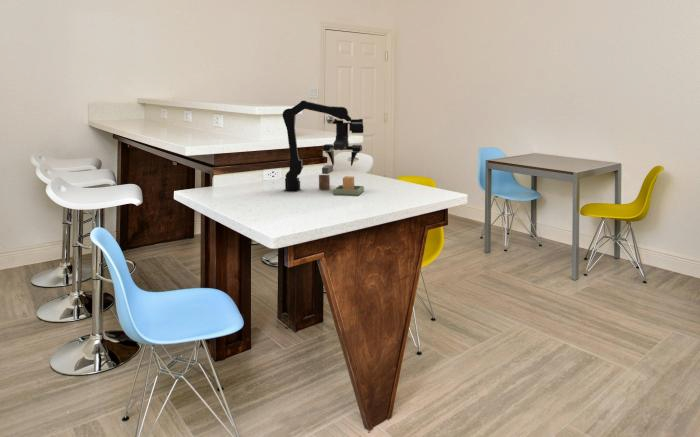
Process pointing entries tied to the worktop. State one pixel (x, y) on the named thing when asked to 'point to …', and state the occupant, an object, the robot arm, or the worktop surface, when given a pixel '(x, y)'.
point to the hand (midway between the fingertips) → (342, 165)
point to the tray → (348, 191)
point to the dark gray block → (327, 169)
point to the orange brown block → (348, 183)
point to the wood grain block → (324, 182)
